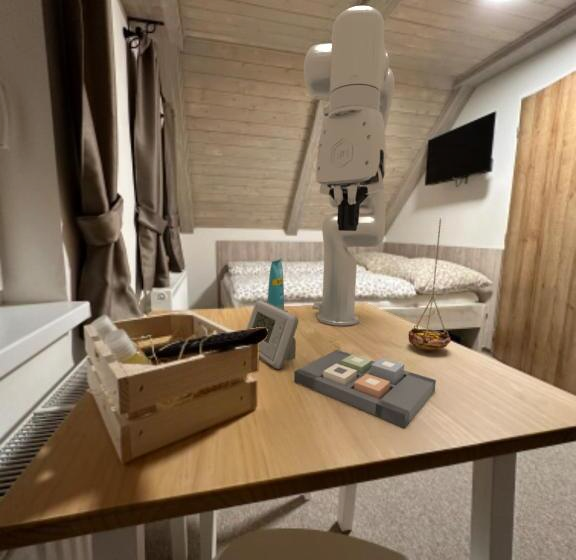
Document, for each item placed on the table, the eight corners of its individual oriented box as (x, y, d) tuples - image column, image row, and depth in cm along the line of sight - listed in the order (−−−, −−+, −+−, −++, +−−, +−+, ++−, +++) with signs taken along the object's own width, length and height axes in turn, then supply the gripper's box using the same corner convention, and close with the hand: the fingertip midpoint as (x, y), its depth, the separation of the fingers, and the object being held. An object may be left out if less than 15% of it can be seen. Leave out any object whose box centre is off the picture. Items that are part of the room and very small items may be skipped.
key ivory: (322, 384, 56) (323, 370, 55) (335, 376, 59) (336, 363, 58) (343, 392, 53) (344, 378, 53) (356, 383, 56) (357, 370, 56)
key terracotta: (353, 396, 52) (354, 381, 51) (365, 387, 55) (366, 373, 55) (377, 406, 49) (379, 390, 49) (389, 395, 52) (390, 381, 52)
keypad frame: (294, 381, 57) (294, 371, 57) (335, 358, 68) (336, 349, 68) (404, 428, 45) (405, 415, 44) (434, 390, 55) (435, 380, 55)
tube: (281, 337, 80) (282, 261, 77) (262, 335, 81) (263, 260, 78) (286, 328, 88) (288, 258, 84) (269, 326, 88) (270, 257, 85)
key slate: (370, 378, 56) (371, 364, 56) (380, 370, 59) (381, 357, 59) (393, 386, 54) (395, 371, 53) (403, 377, 57) (404, 363, 56)
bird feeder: (453, 359, 69) (469, 218, 64) (410, 355, 71) (423, 217, 66) (442, 345, 77) (456, 219, 72) (404, 341, 79) (415, 218, 74)
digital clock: (241, 344, 75) (241, 300, 73) (277, 340, 78) (278, 298, 77) (260, 374, 60) (260, 320, 58) (304, 367, 63) (305, 316, 62)
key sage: (340, 372, 60) (341, 360, 60) (351, 365, 63) (352, 353, 63) (361, 380, 57) (361, 366, 57) (371, 372, 61) (372, 359, 60)
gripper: (299, 111, 50) (296, 229, 53) (391, 87, 41) (381, 232, 44) (326, 124, 56) (322, 229, 59) (412, 104, 47) (402, 232, 50)
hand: (347, 230), depth 51 cm, fingers closed
